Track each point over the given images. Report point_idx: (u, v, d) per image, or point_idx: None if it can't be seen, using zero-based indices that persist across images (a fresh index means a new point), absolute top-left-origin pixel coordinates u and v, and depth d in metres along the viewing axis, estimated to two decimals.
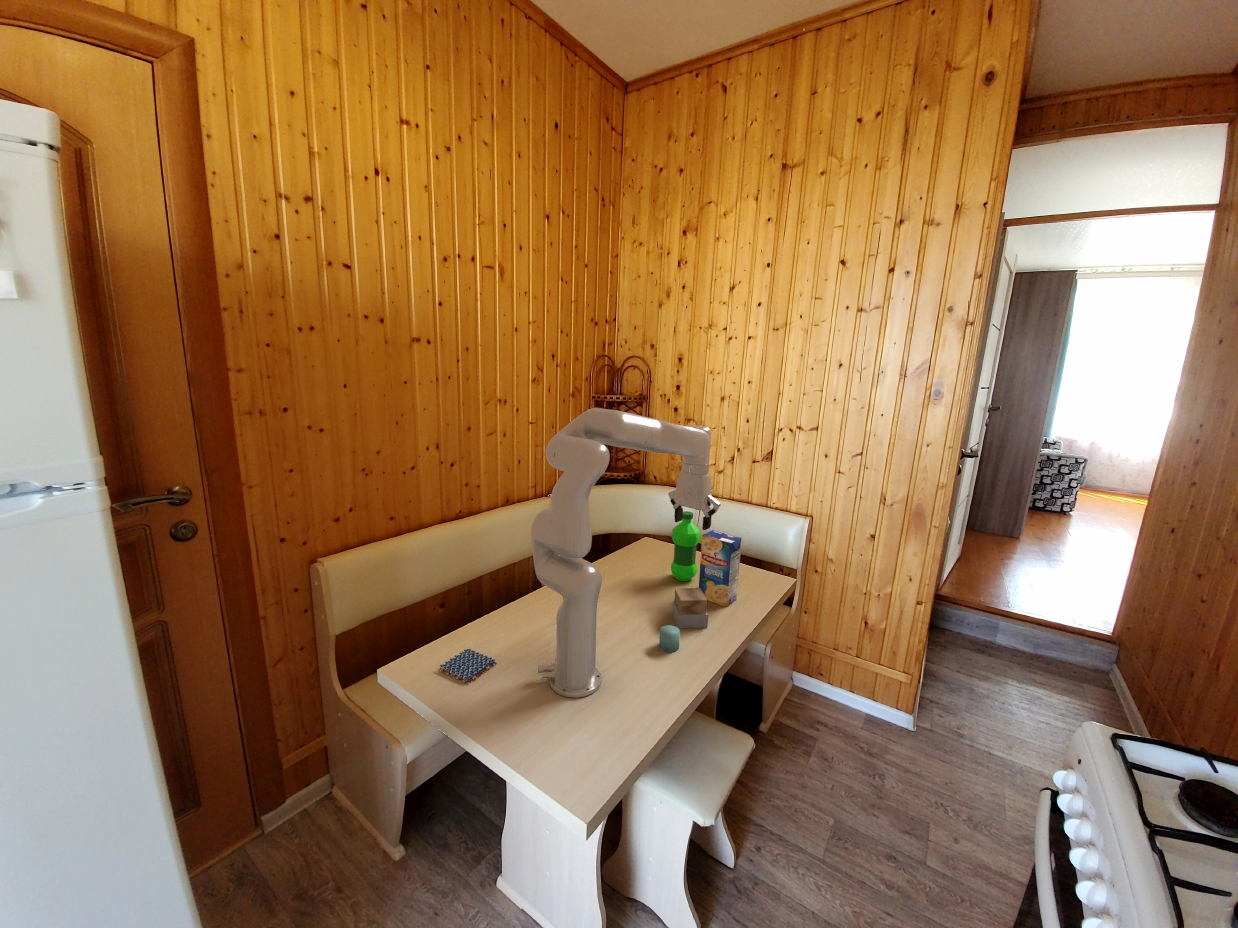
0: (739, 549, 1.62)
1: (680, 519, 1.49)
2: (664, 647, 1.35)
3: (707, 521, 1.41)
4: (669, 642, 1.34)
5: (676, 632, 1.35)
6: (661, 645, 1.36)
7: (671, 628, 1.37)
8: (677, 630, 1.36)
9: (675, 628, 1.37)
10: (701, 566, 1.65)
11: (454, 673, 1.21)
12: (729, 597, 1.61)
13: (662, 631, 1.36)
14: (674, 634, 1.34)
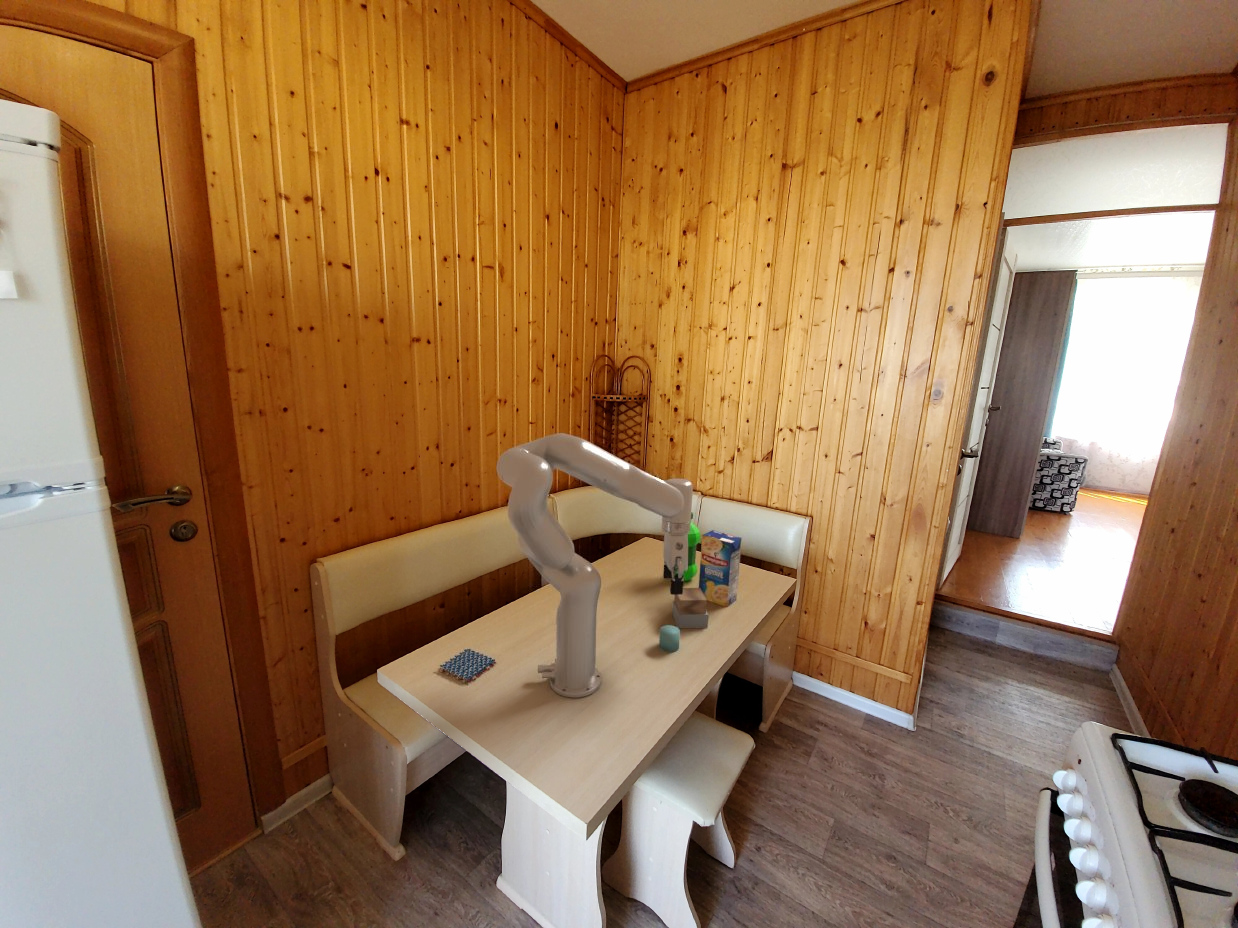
0: (739, 549, 1.62)
1: None
2: (664, 647, 1.35)
3: None
4: (669, 642, 1.34)
5: (676, 632, 1.35)
6: (661, 645, 1.36)
7: (671, 628, 1.37)
8: (677, 630, 1.36)
9: (675, 628, 1.37)
10: (701, 566, 1.65)
11: (454, 673, 1.21)
12: (729, 597, 1.61)
13: (662, 631, 1.36)
14: (674, 634, 1.34)
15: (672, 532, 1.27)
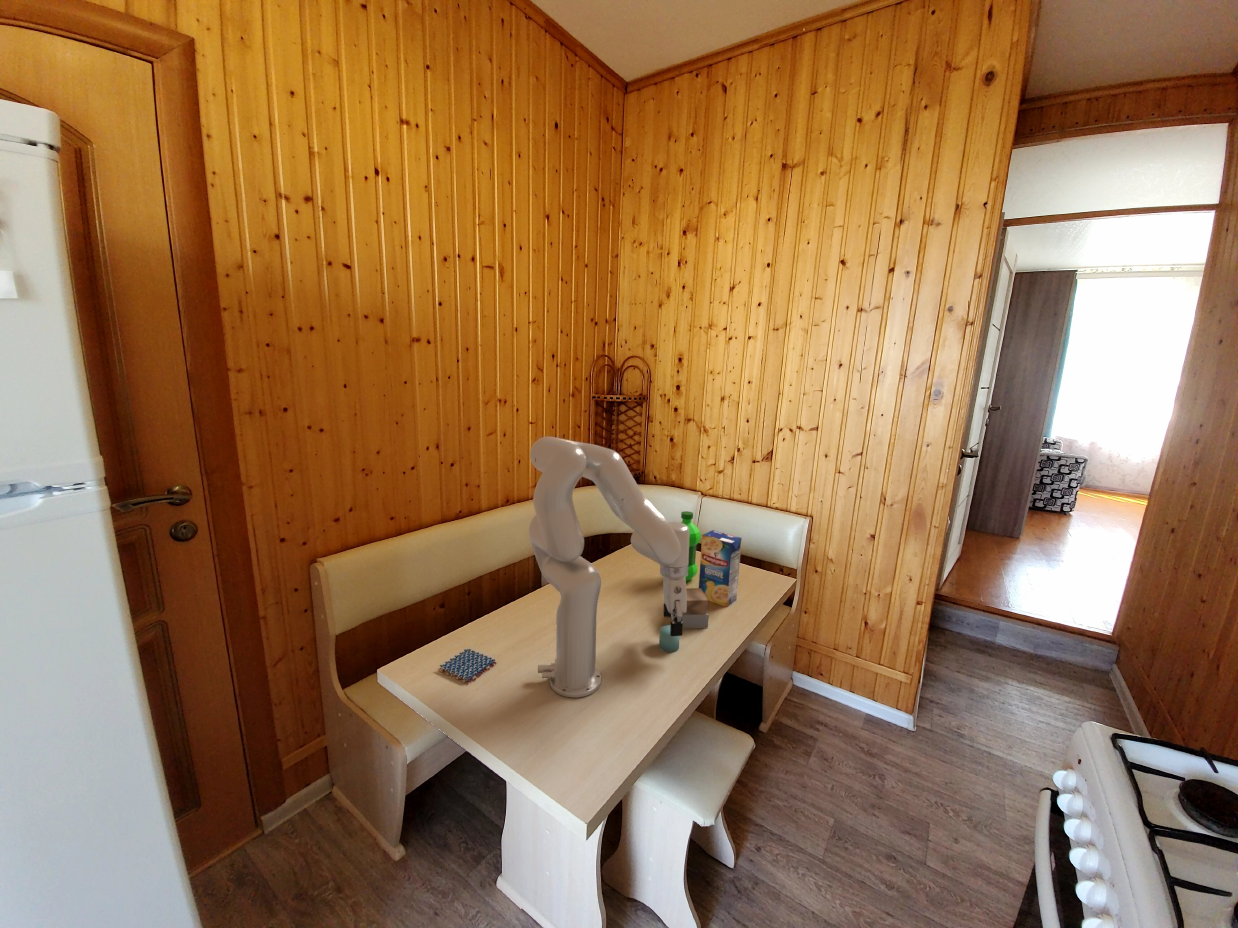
0: (739, 549, 1.62)
1: None
2: (664, 647, 1.35)
3: None
4: (669, 642, 1.34)
5: None
6: (661, 645, 1.36)
7: None
8: None
9: None
10: (701, 566, 1.65)
11: (454, 673, 1.21)
12: (729, 597, 1.61)
13: (662, 631, 1.36)
14: None
15: (670, 576, 1.30)
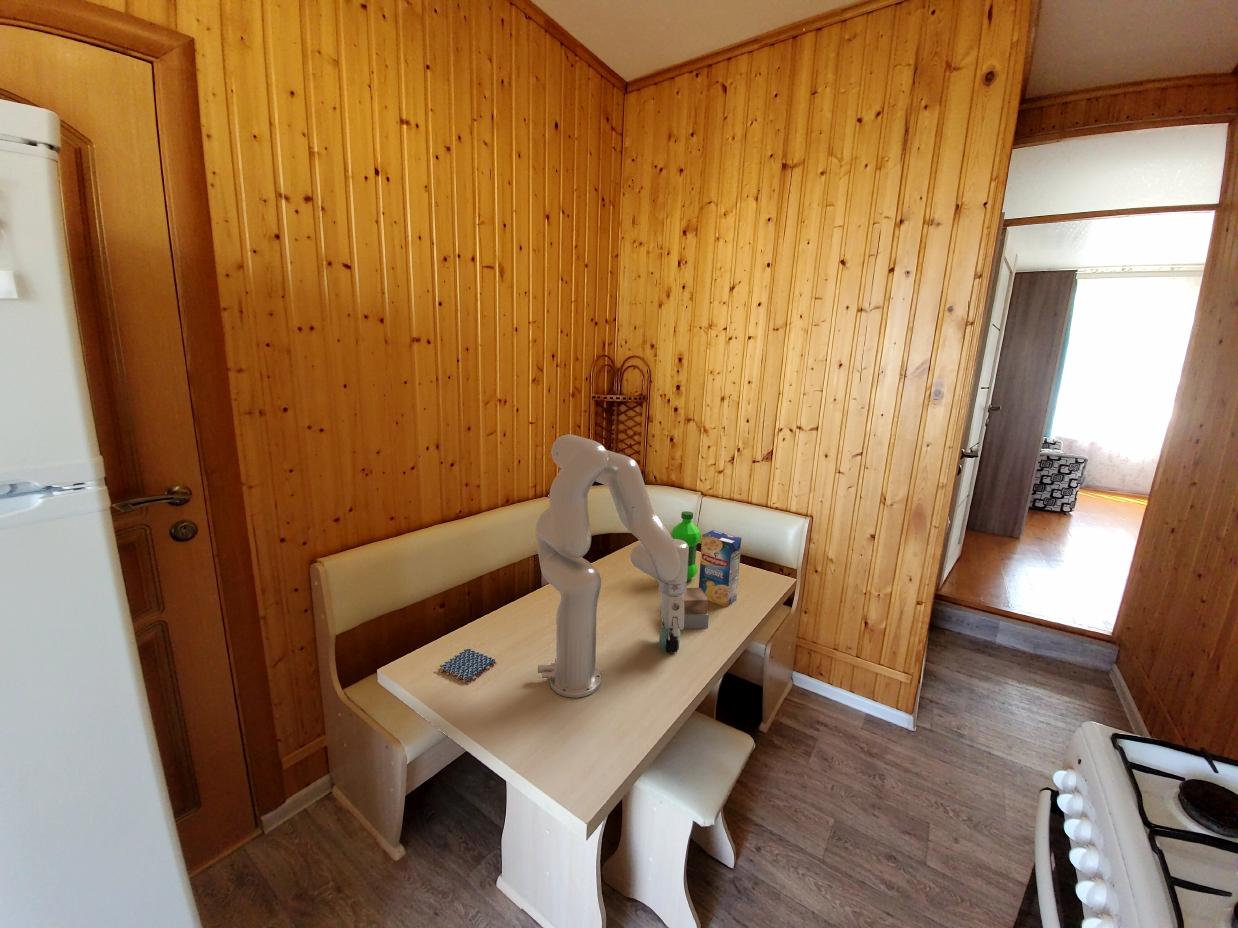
0: (739, 549, 1.62)
1: None
2: (664, 647, 1.35)
3: None
4: None
5: None
6: (661, 645, 1.36)
7: None
8: None
9: None
10: (701, 566, 1.65)
11: (454, 673, 1.21)
12: (729, 597, 1.61)
13: (662, 631, 1.36)
14: None
15: (669, 593, 1.30)
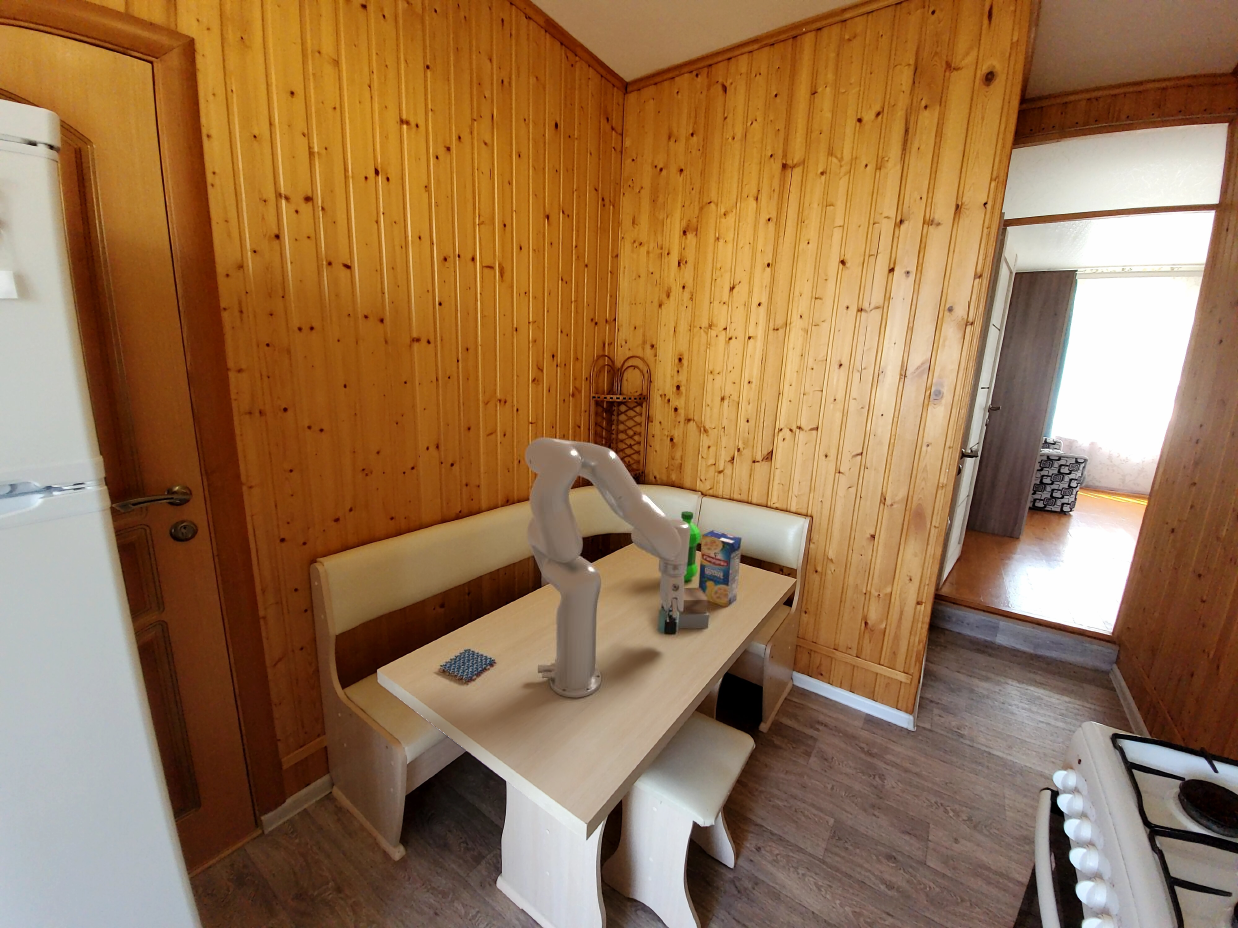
0: (739, 549, 1.62)
1: None
2: (662, 629, 1.33)
3: None
4: None
5: None
6: (660, 627, 1.34)
7: None
8: None
9: None
10: (701, 566, 1.65)
11: (454, 673, 1.21)
12: (729, 597, 1.61)
13: (661, 613, 1.34)
14: None
15: (669, 573, 1.29)
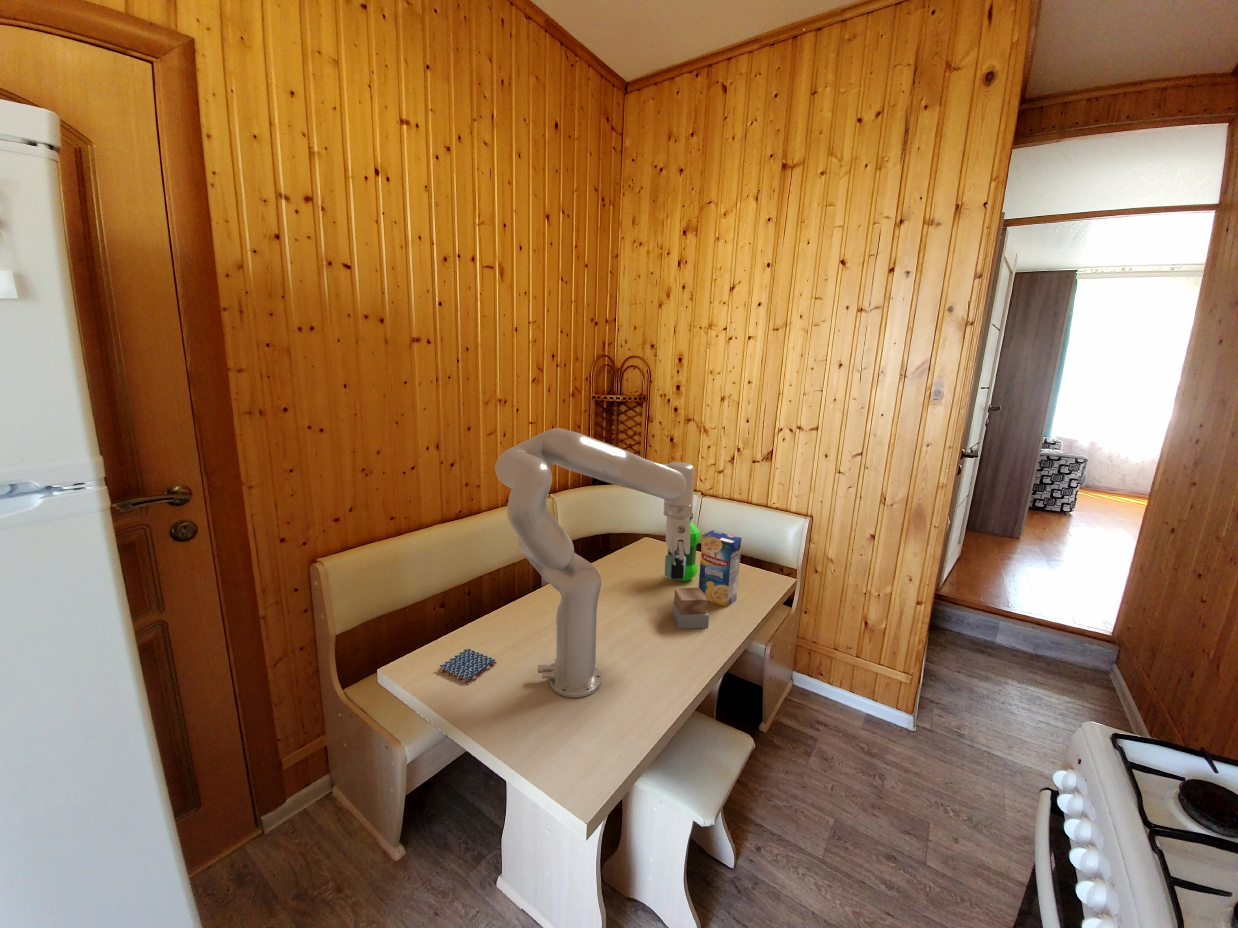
0: (739, 549, 1.62)
1: None
2: (669, 574, 1.31)
3: None
4: None
5: None
6: (667, 572, 1.32)
7: None
8: None
9: None
10: (701, 566, 1.65)
11: (454, 673, 1.21)
12: (729, 597, 1.61)
13: (668, 558, 1.32)
14: None
15: (674, 515, 1.27)
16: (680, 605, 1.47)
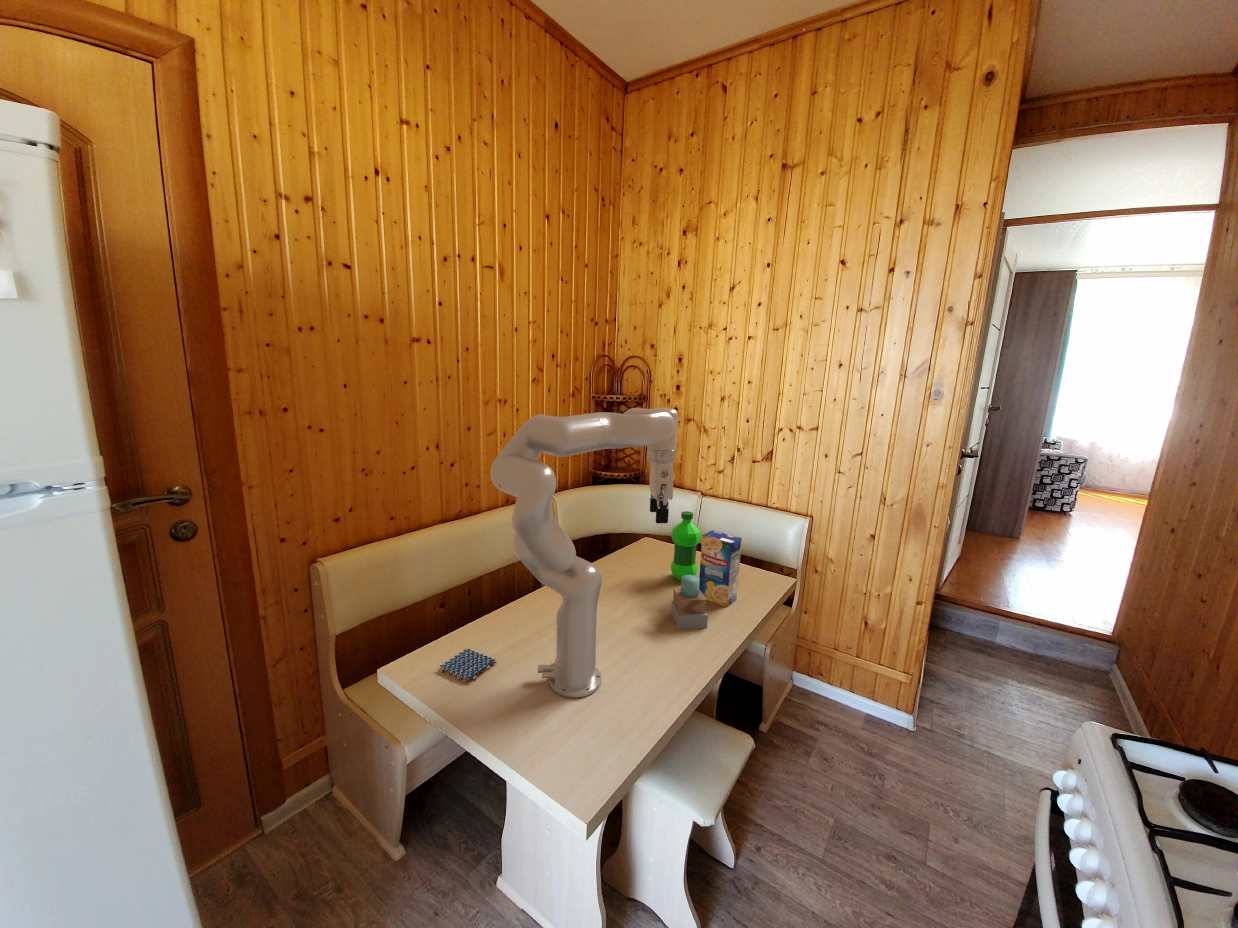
0: (739, 549, 1.62)
1: None
2: (685, 593, 1.48)
3: None
4: (690, 589, 1.47)
5: (696, 580, 1.48)
6: (683, 592, 1.48)
7: (691, 576, 1.50)
8: (697, 578, 1.49)
9: (695, 577, 1.50)
10: (701, 566, 1.65)
11: (454, 673, 1.21)
12: (729, 597, 1.61)
13: (683, 579, 1.48)
14: (694, 581, 1.47)
15: (657, 460, 1.27)
16: (679, 605, 1.47)
